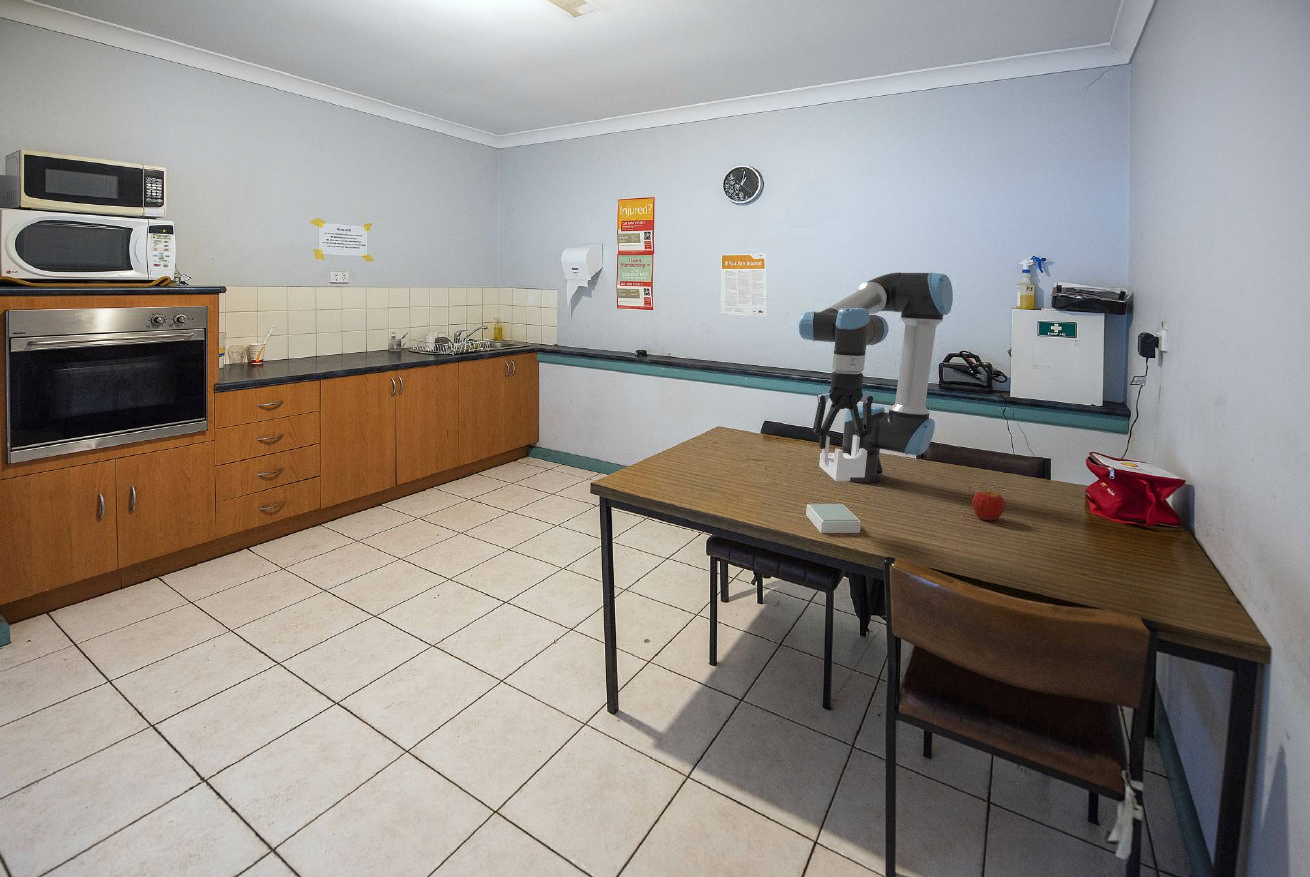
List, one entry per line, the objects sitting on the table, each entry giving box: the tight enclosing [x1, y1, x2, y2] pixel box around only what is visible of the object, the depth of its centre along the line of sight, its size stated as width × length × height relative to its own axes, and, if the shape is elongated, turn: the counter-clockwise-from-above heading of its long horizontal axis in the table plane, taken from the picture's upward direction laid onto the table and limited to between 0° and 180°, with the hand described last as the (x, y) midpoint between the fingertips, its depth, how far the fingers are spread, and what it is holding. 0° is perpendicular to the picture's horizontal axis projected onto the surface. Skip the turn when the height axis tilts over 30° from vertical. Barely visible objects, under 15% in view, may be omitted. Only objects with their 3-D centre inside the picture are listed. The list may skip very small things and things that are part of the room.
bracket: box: [819, 447, 867, 482], centre depth 166 cm, size 13×7×8 cm, turn 4°
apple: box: [971, 491, 1006, 521], centre depth 178 cm, size 8×8×8 cm
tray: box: [805, 503, 862, 534], centre depth 172 cm, size 10×13×3 cm
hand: (839, 460), depth 168 cm, fingers closed on bracket, 7 cm apart
